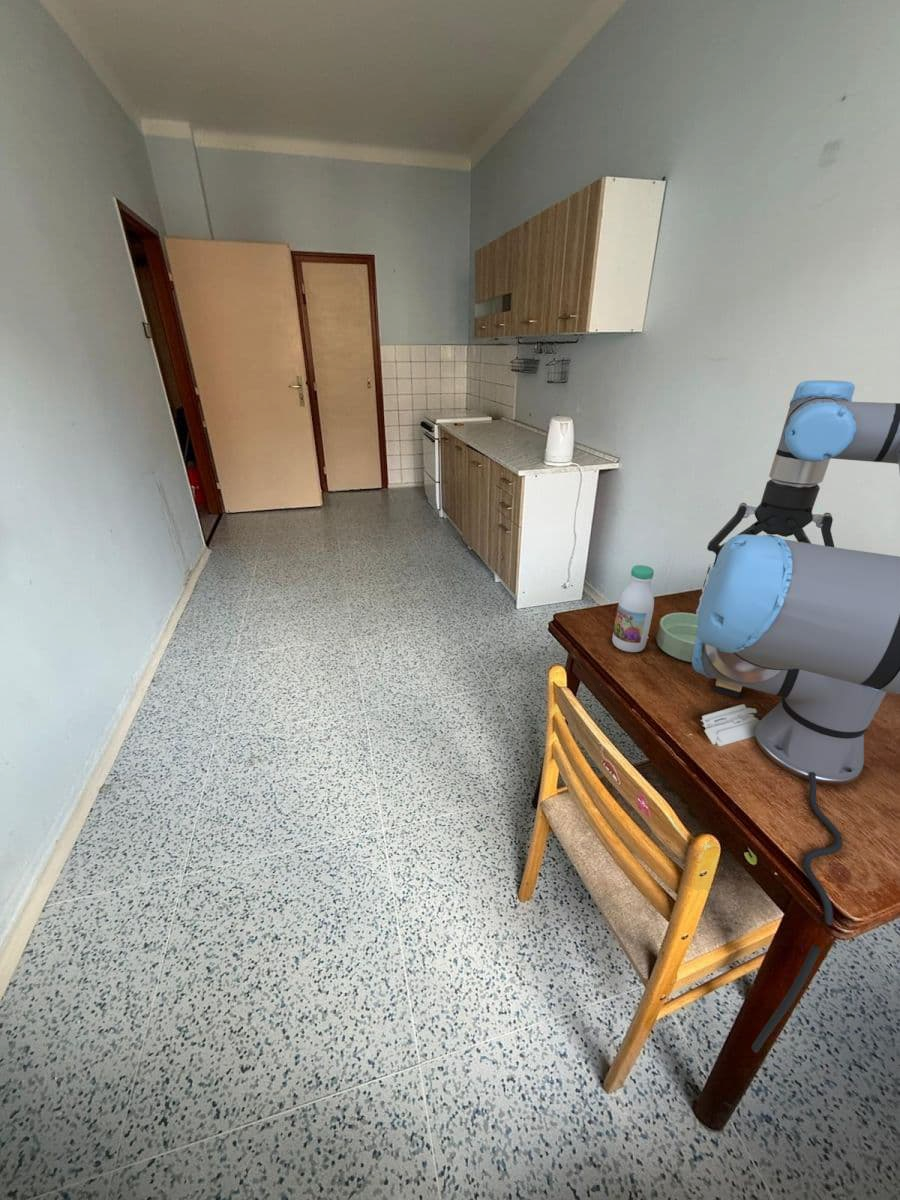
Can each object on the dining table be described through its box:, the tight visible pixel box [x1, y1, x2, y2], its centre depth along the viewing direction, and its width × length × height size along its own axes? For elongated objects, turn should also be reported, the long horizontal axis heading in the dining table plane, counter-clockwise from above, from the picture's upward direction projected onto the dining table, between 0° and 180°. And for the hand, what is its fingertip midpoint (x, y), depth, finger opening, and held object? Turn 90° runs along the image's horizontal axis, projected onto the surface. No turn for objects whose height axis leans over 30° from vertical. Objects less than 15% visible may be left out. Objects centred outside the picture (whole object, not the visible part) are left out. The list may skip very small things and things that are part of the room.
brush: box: [713, 678, 743, 699], centre depth 98 cm, size 8×4×9 cm, turn 149°
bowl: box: [655, 612, 698, 663], centre depth 111 cm, size 14×14×6 cm
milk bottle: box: [611, 564, 655, 653], centre depth 109 cm, size 8×8×20 cm
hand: (757, 593), depth 89 cm, fingers open, 13 cm apart
